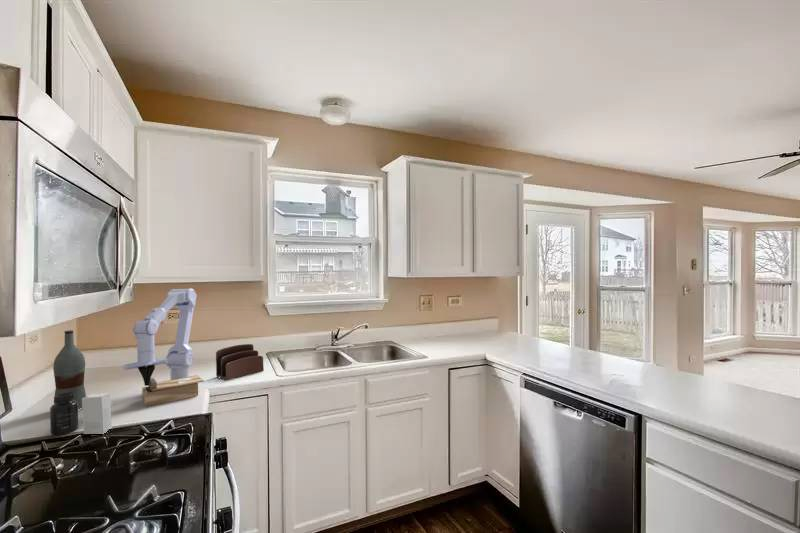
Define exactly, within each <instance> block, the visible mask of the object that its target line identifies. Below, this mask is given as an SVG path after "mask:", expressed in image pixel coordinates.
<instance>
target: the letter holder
mask: <svg viewBox="0 0 800 533" xmlns="http://www.w3.org/2000/svg"><path fill="white" fill-rule="evenodd" d="M215 368H216V369H215V373H216V375H215V376H217V377H220V378H223V379H222V380H224V379H225V381H229V380H228V379H230V380H233V378H234V379H238V378H241V377H245V376H249V375H252V374H256V373H260V372H264V371H265V369H264V368H265V367H264V356H262V355H259V351H258V350H255V349H254V344H252V343H243V344H236V345H235V344H234V345H232V346H227V347H224V348H221V349H218V350H216V352H215ZM217 377H216V378H217ZM220 378H219V379H220Z"/></svg>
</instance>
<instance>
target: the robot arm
mask: <svg viewBox="0 0 800 533" xmlns="http://www.w3.org/2000/svg"><path fill="white" fill-rule="evenodd" d="M166 296H167V297H166V298H165V299H164V301H163V302H162V303H161V304H160V305H159V307H154V308H152V309H151V310H150V312H149V313H148V314H147V315H146V316H144V318H143V319H142V320H138V321H137V322H135V323H134V325H133V328H132V332H133V334H134V337H135V338H134V339H135V340H136V348H137V349H136V350H137V355H136V356H137V358H136V359H137V362H131V363H125V364H123V366H122V367H123V371H128V370H134V369H137V370H138V371H139V373H140V375H141V377H142V379H143V384H144V387H148V385H149V382H150V378H152V375H153V373H154V371H155V369H156V367H155V366H161V365H166V366H167V367H168V369H170V372H169V374H170V380H174V379H179V378H185V377H190V367H191V365H192V364H193V362H194V358H195V357H194V349H193V348H192V347H191V346H190V345H189V341H190V336H191V335H190V334H191V329H192V328H191V327H192V321H193V316H194V311H195V310H194V308H195V307H196V303H197V293H196V291H195V289H193V288H177V289H175V288H172V289H170V290H169V292H167V295H166ZM173 307H175V308H177V309H178V310H179V318H178V322H177V328H176V329H177V330H176V335H175V341H174V345H173V346H171V347H170V348H169V349H168V353H167V355H166V357H165V358H158V359H156V350H155V349H156V348H155V334H156V333H157V332H158V329H159V327H160V324H161V323H162V322H163V321H164V320H165V319H166V318H167V312H169V311H170V310H171V309H172V308H173Z"/></svg>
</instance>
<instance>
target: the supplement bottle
mask: <svg viewBox="0 0 800 533" xmlns="http://www.w3.org/2000/svg"><path fill="white" fill-rule="evenodd" d="M73 399H74V393H72V392H68V393H62V394H58V395H56V396H55V395H54V396H53V404H52V405H51V406H50V407H49V424H50V426H49V427H50V434H51V435H52V436H62V435H61V434H63V435H66V433H67V434H70V433H73V432H75V431H77V429H79V410H78V403H77V401H75V400H73ZM54 403H55V404H54Z"/></svg>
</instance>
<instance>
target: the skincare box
mask: <svg viewBox="0 0 800 533" xmlns="http://www.w3.org/2000/svg"><path fill="white" fill-rule="evenodd" d="M111 406H112V405H111V393H109V392H107V393H90V394H88V395H86V397H84V398H82V409H81V411H82V423H83V426H82V428H83V435H84V434H103V435H105V434H104V433H106V432H107V431H108V430H109V429H111V428H112V429H113V427H112V426H113V425H112V407H111ZM107 433H108V432H107ZM107 433H106V434H107Z"/></svg>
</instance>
